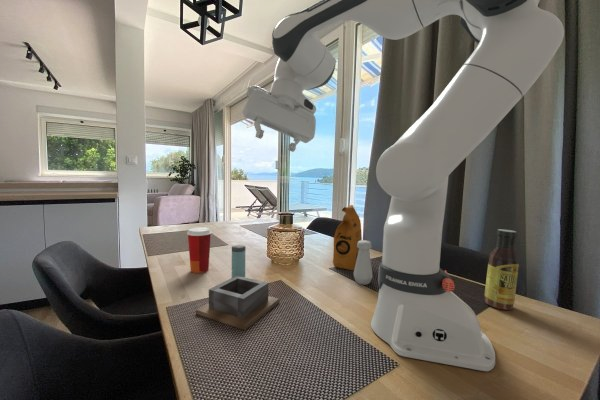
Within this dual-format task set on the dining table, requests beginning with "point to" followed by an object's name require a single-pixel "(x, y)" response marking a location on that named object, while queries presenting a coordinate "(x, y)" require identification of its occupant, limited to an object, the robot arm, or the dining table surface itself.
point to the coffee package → (347, 240)
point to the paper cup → (199, 249)
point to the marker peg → (238, 260)
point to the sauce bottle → (502, 272)
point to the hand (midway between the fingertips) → (275, 143)
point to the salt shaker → (363, 263)
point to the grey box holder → (238, 302)
